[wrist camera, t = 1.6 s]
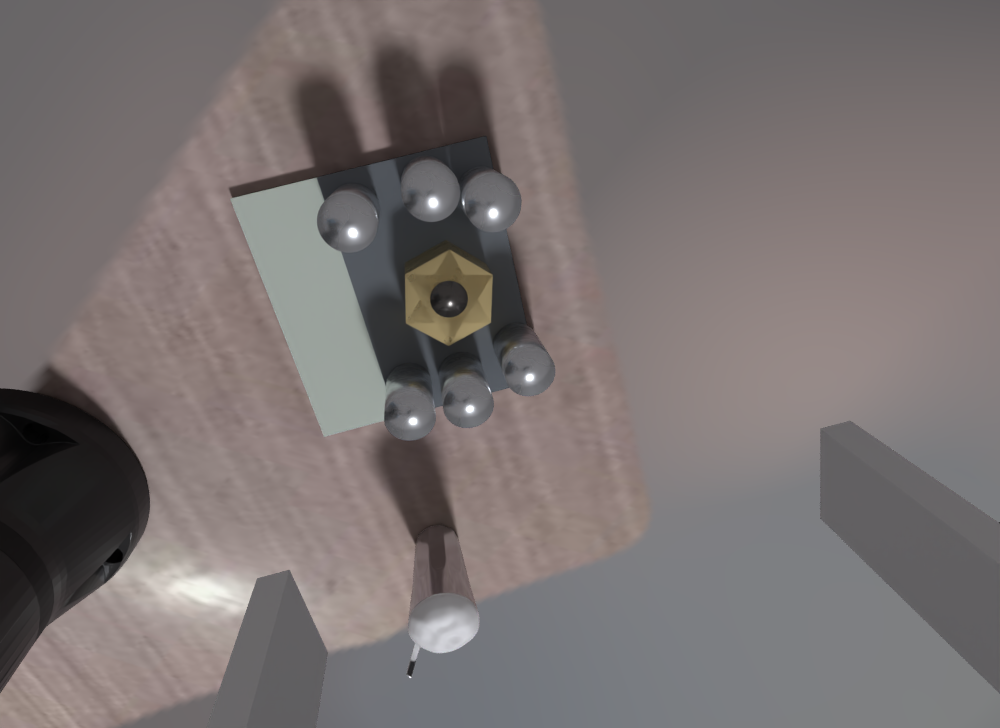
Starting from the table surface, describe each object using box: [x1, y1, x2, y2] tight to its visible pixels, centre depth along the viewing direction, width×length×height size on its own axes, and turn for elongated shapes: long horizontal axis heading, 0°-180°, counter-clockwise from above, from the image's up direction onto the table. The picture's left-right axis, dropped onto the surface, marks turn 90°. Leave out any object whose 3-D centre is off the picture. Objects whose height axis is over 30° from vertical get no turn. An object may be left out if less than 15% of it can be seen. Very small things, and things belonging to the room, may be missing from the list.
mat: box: [230, 136, 527, 437], centre depth 38 cm, size 15×16×1 cm
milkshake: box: [406, 525, 479, 678], centre depth 41 cm, size 5×5×10 cm
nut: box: [405, 240, 493, 346], centre depth 36 cm, size 6×5×3 cm
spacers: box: [317, 156, 555, 441], centre depth 35 cm, size 10×15×5 cm
